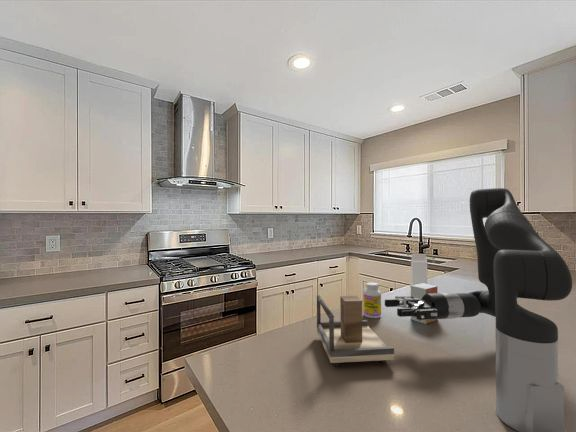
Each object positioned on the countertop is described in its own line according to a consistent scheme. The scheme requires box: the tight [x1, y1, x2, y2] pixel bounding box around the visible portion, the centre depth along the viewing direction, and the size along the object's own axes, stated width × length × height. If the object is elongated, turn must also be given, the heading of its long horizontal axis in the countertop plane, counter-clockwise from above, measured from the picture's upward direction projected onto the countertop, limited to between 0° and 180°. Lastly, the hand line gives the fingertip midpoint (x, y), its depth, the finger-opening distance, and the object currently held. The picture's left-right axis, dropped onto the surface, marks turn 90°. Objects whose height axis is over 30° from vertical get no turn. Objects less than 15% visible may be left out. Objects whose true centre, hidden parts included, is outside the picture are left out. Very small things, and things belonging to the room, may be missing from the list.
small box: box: [410, 283, 439, 325], centre depth 107 cm, size 8×6×13 cm
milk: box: [410, 253, 428, 287], centre depth 129 cm, size 6×6×22 cm
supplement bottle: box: [363, 281, 382, 319], centre depth 112 cm, size 7×7×13 cm
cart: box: [316, 294, 395, 367], centre depth 84 cm, size 20×17×14 cm
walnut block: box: [339, 295, 363, 343], centre depth 84 cm, size 5×5×12 cm
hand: (391, 307), depth 84 cm, fingers open, 8 cm apart
